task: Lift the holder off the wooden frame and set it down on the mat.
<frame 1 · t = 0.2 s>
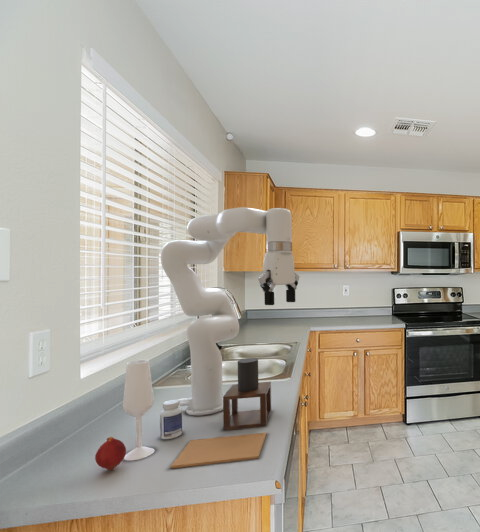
hand: (280, 303, 116), 37 cm above the worktop, tool pointing down, fingers open, 9 cm apart
mat: (222, 450, 98), on the worktop
wooden frame: (248, 420, 118), on the worktop
champagne flute: (139, 454, 97), on the worktop
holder: (248, 388, 118), point 10 cm above the worktop, touching wooden frame
onion: (111, 470, 90), on the worktop
pill bottle: (171, 436, 108), on the worktop
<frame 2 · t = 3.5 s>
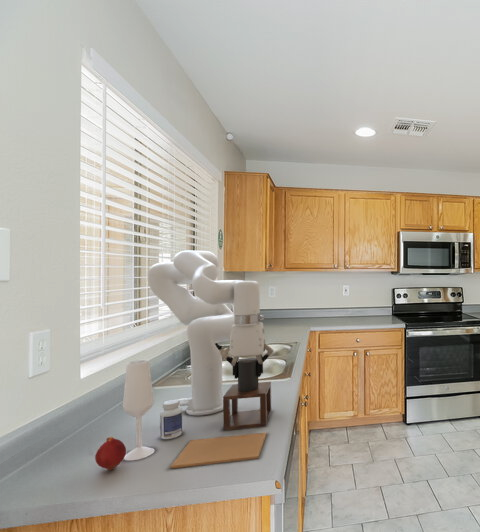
hand: (248, 376, 118), 14 cm above the worktop, tool pointing down, fingers closed on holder, 6 cm apart
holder: (248, 388, 118), point 10 cm above the worktop, touching gripper, wooden frame
everything else where it was.
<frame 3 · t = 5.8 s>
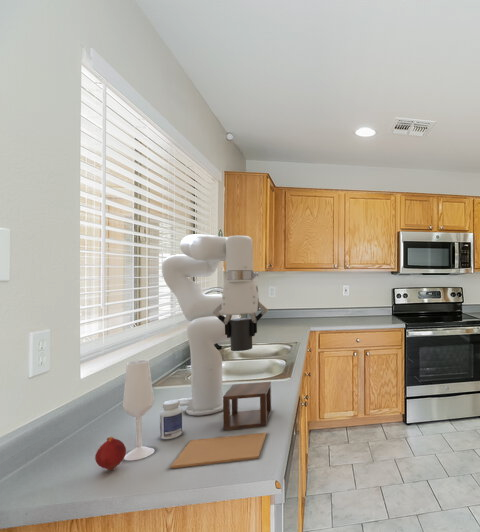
hand: (241, 335, 112), 28 cm above the worktop, tool pointing down, fingers closed on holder, 6 cm apart
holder: (241, 349, 112), point 24 cm above the worktop, touching gripper
everything else where it was.
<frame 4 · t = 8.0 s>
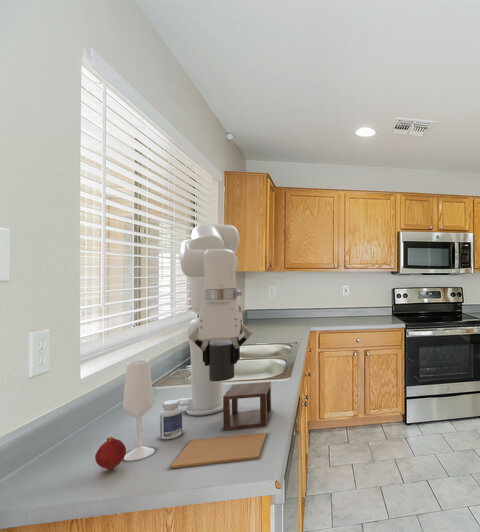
hand: (221, 363, 99), 23 cm above the worktop, tool pointing down, fingers closed on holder, 6 cm apart
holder: (221, 378, 99), point 19 cm above the worktop, touching gripper
everything else where it was.
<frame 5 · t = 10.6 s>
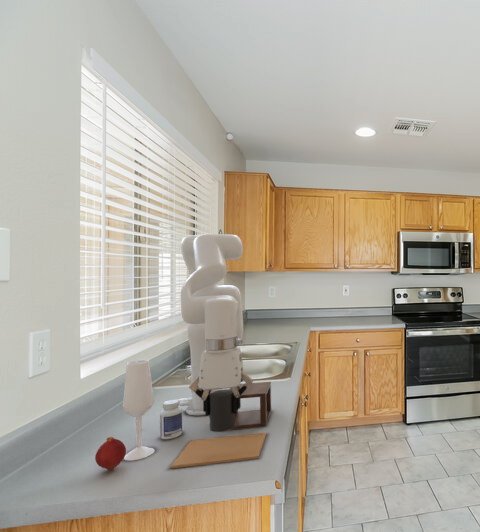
hand: (222, 412, 98), 10 cm above the worktop, tool pointing down, fingers closed on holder, 6 cm apart
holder: (222, 427, 98), point 6 cm above the worktop, touching gripper
everything else where it was.
when the fingers open (5 cm above the worktop, at t = 12.4 s): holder stays where it is, resting on mat.
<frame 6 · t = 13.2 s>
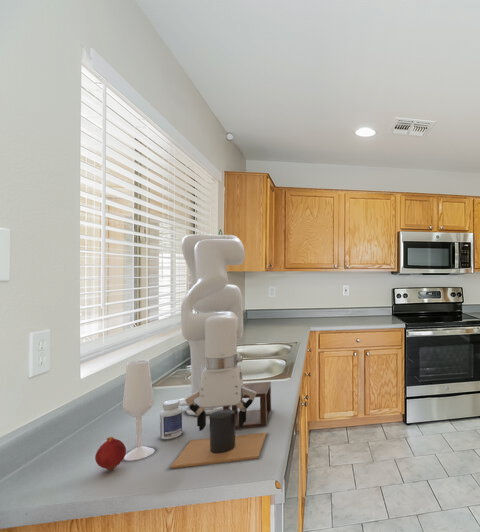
hand: (222, 426, 99), 6 cm above the worktop, tool pointing down, fingers open, 9 cm apart
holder: (222, 447, 98), point 1 cm above the worktop, touching mat
everything else where it was.
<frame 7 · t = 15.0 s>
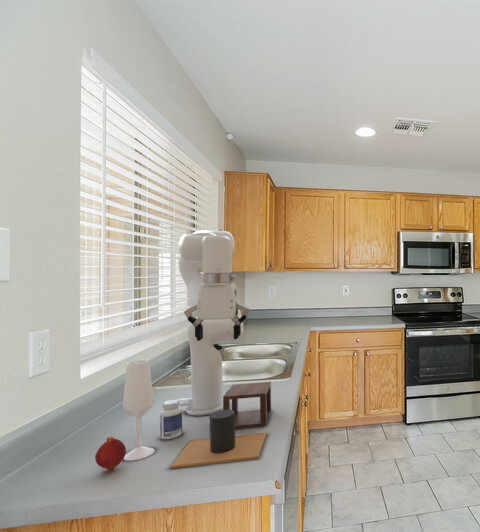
hand: (218, 339, 106), 28 cm above the worktop, tool pointing down, fingers open, 9 cm apart
nothing on the worktop moved.
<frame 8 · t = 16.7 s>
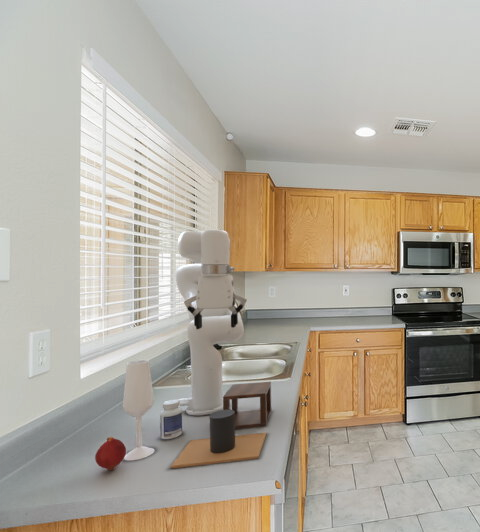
hand: (216, 327, 112), 30 cm above the worktop, tool pointing down, fingers open, 9 cm apart
nothing on the worktop moved.
at the end: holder inside the target area on the mat (0.1 cm from its centre), point 0.6 cm above the mat's base; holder tilted 0°; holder touching mat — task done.
